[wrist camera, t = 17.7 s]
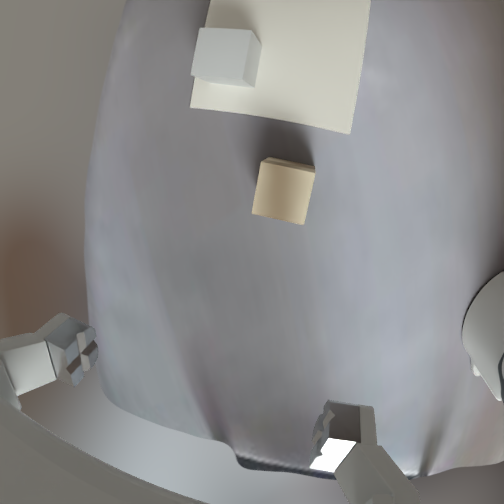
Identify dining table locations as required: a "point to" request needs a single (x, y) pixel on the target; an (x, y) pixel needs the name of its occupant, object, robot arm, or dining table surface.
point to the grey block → (227, 57)
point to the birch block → (283, 190)
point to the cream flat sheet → (294, 60)
